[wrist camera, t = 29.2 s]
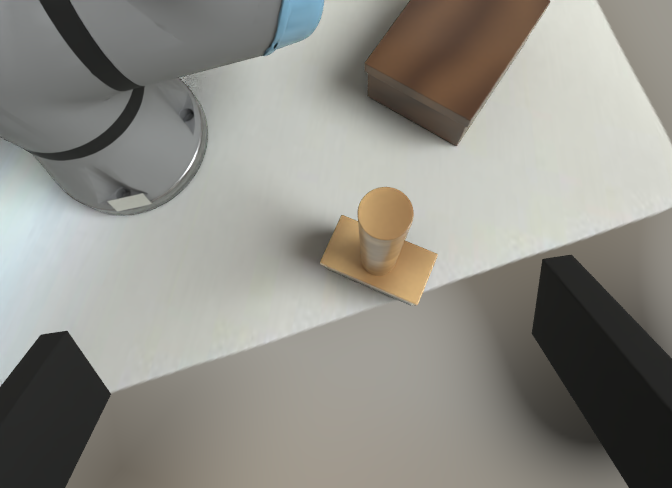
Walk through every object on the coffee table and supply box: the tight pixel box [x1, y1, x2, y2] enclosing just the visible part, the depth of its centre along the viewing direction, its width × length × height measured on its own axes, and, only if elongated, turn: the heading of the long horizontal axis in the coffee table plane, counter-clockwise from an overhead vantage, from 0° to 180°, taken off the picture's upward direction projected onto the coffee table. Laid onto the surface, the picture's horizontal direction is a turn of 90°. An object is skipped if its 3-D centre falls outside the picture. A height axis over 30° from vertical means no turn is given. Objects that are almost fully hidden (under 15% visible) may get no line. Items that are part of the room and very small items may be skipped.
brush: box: [320, 187, 438, 306], centre depth 29 cm, size 8×4×16 cm, turn 66°
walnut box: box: [365, 0, 550, 146], centre depth 38 cm, size 11×13×5 cm
